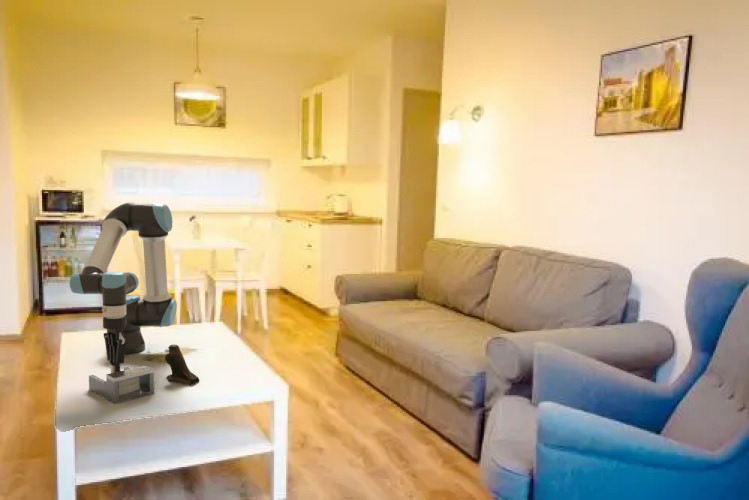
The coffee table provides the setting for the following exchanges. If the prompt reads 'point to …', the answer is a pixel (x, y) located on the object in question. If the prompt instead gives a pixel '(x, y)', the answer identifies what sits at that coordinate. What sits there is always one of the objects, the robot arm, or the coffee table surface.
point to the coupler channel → (111, 385)
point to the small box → (129, 385)
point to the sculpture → (179, 367)
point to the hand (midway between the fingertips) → (115, 381)
